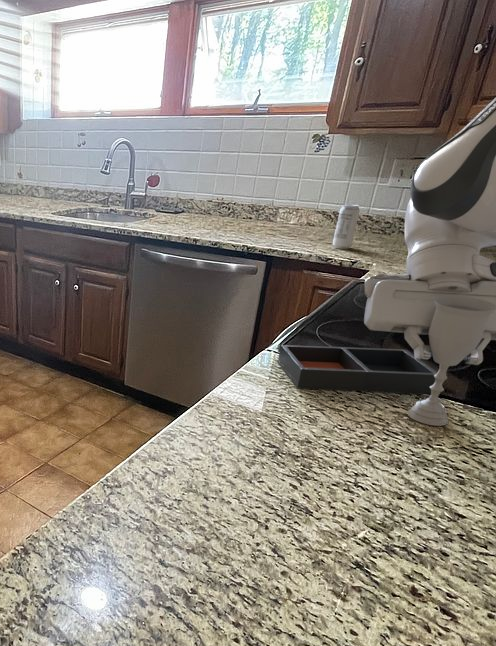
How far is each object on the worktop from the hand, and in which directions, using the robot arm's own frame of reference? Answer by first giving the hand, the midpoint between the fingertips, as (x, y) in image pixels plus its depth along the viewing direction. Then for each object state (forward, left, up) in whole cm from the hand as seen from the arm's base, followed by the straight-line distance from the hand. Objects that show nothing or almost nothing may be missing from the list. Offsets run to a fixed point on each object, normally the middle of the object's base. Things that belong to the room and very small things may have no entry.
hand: (448, 361), depth 75 cm
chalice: (0, -1, -10) cm, 10 cm away
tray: (+5, -15, -10) cm, 18 cm away
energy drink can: (-38, -131, -10) cm, 136 cm away
